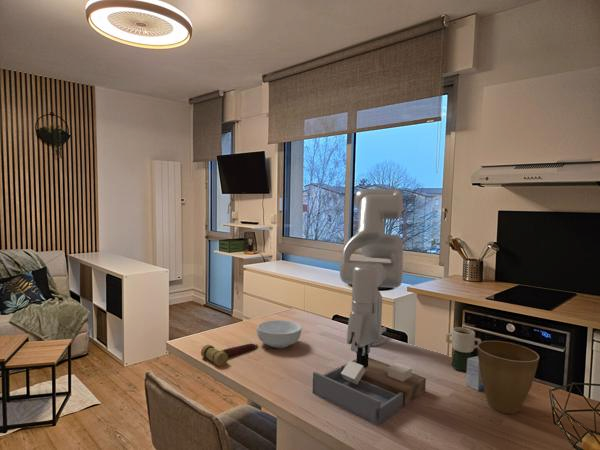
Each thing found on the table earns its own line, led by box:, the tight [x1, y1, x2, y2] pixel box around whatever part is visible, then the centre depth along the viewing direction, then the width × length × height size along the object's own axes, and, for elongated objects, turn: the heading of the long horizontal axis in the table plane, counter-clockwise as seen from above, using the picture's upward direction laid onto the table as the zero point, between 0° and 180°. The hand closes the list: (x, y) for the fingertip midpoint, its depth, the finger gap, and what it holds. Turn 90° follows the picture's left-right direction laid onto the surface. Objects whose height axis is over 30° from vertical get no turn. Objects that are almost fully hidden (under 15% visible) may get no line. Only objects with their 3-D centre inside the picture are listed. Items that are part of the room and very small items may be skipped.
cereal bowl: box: [256, 319, 302, 349], centre depth 148 cm, size 17×17×7 cm
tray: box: [312, 366, 404, 426], centre depth 108 cm, size 12×22×6 cm, turn 46°
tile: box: [388, 362, 413, 381], centre depth 115 cm, size 5×5×2 cm
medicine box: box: [465, 355, 484, 392], centre depth 118 cm, size 8×4×9 cm, turn 117°
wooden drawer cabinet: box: [340, 356, 427, 407], centre depth 117 cm, size 12×22×4 cm, turn 46°
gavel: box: [200, 343, 259, 367], centre depth 138 cm, size 21×5×10 cm
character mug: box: [445, 326, 482, 371], centre depth 130 cm, size 11×7×13 cm, turn 60°
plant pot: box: [476, 340, 540, 415], centre depth 106 cm, size 15×15×16 cm
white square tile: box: [341, 360, 365, 384], centre depth 115 cm, size 5×5×2 cm
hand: (362, 366), depth 118 cm, fingers closed
